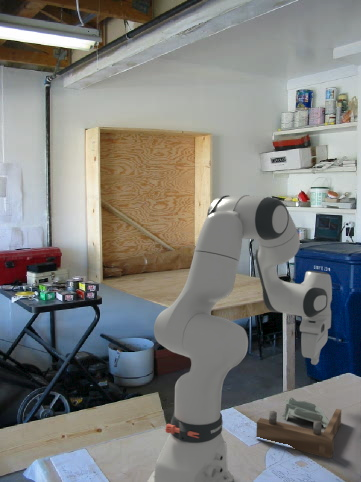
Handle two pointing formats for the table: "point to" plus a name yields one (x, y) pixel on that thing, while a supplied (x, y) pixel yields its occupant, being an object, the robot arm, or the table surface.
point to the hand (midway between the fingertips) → (314, 363)
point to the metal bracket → (305, 411)
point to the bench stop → (301, 434)
